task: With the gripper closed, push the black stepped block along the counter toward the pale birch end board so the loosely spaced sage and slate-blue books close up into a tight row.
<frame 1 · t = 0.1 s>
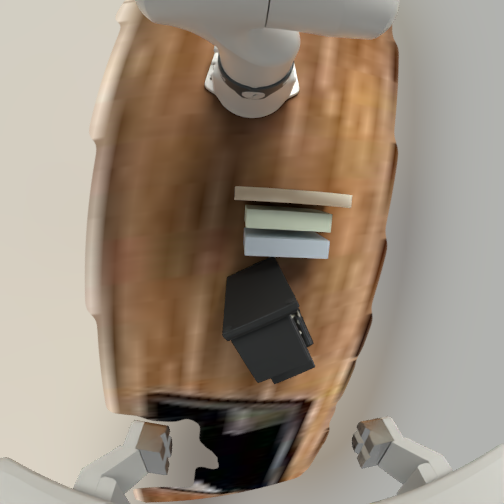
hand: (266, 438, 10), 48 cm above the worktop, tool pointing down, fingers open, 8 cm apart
book a: (280, 214, 56), on the worktop
book b: (278, 236, 57), on the worktop
end board: (281, 194, 55), on the worktop
black stepped block: (272, 311, 61), on the worktop
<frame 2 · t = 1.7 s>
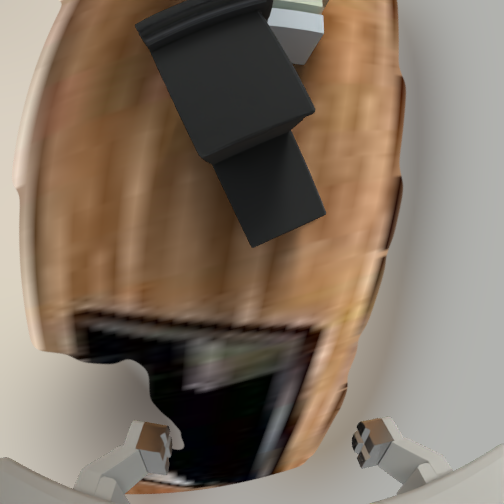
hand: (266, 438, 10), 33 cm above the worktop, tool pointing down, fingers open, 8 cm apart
book a: (259, 29, 33), on the worktop
book b: (257, 52, 34), on the worktop
black stepped block: (253, 153, 39), on the worktop
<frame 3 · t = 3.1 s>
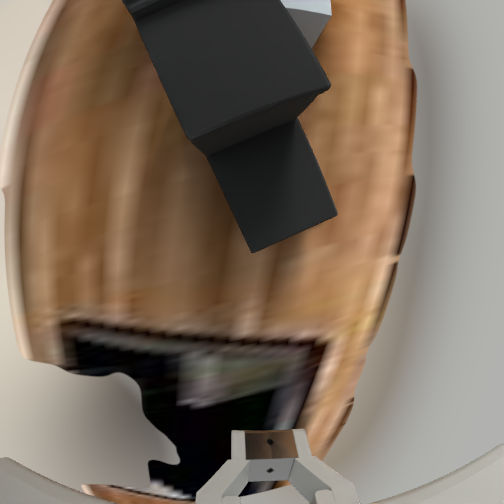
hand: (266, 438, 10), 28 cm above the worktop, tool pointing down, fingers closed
book b: (258, 39, 31), on the worktop
black stepped block: (253, 148, 35), on the worktop
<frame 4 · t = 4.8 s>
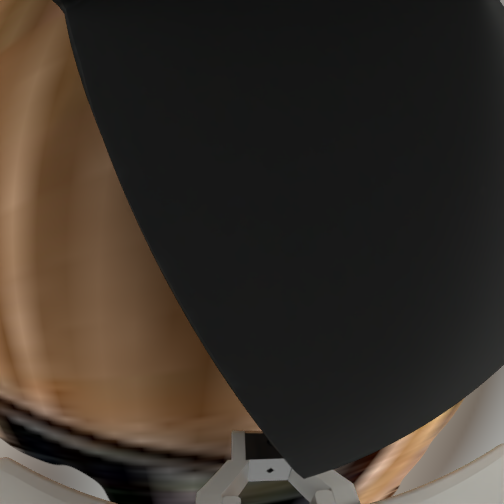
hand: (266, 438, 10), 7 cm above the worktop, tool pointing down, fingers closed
black stepped block: (278, 92, 13), on the worktop
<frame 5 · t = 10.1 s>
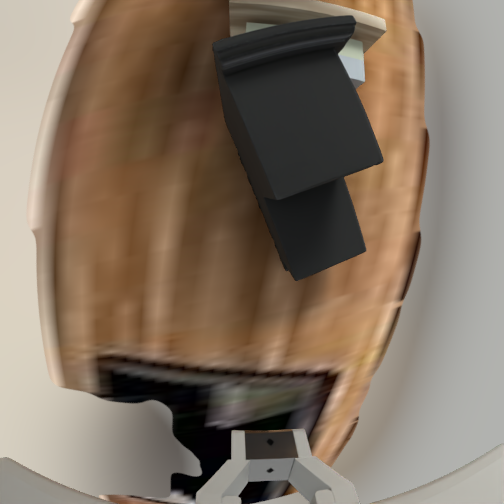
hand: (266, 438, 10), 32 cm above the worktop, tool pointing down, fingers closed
book a: (290, 72, 36), on the worktop
book b: (290, 89, 36), on the worktop
end board: (291, 55, 35), on the worktop
black stepped block: (289, 182, 39), on the worktop
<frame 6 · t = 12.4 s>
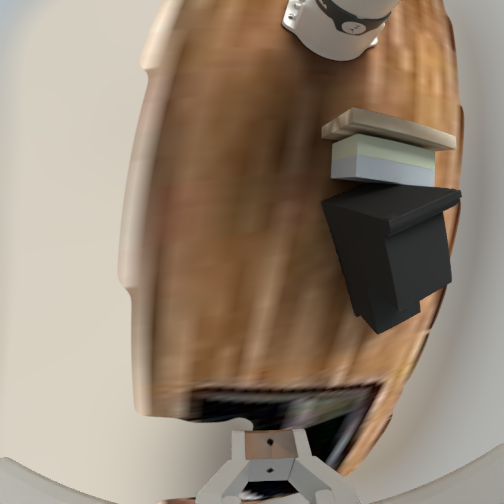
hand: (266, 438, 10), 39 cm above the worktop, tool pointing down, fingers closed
book a: (368, 157, 45), on the worktop
book b: (367, 174, 46), on the worktop
end board: (368, 140, 45), on the worktop
black stepped block: (364, 251, 50), on the worktop
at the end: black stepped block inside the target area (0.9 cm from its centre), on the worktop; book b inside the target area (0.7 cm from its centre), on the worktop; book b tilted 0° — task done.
